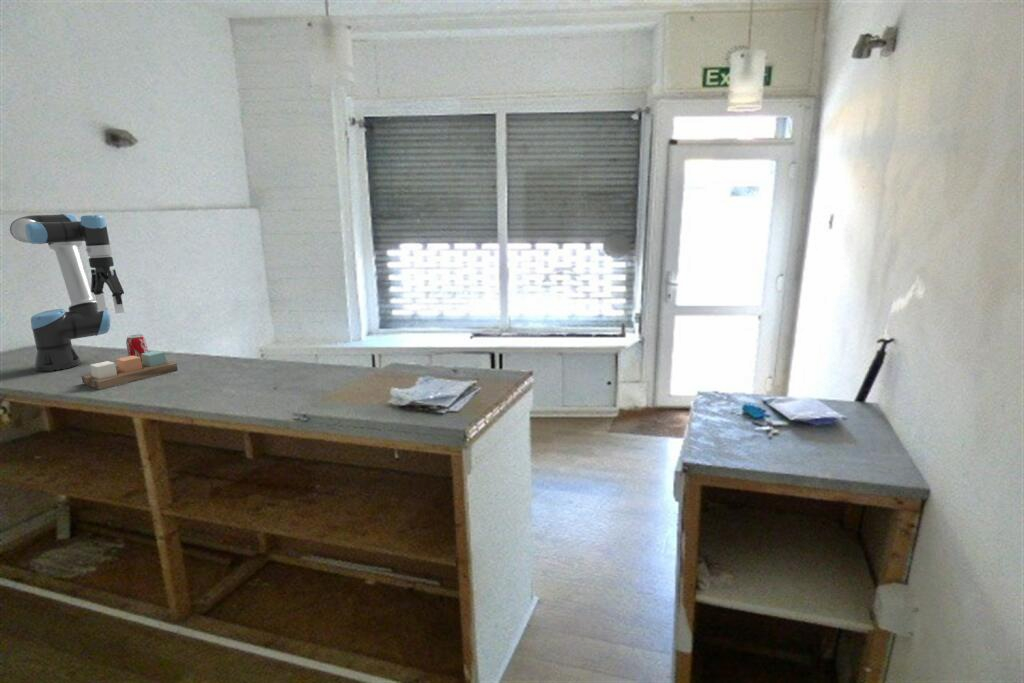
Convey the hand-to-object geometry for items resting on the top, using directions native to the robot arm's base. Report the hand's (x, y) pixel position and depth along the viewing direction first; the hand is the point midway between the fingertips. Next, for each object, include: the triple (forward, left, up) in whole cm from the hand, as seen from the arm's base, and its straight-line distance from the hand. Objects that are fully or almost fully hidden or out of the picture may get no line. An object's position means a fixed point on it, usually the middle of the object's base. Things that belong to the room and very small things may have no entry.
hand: (111, 311), depth 227 cm
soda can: (-9, +11, -25) cm, 29 cm away
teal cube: (+8, +9, -23) cm, 26 cm away
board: (+8, 0, -25) cm, 26 cm away
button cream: (+8, -9, -23) cm, 26 cm away
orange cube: (+8, 0, -23) cm, 24 cm away
